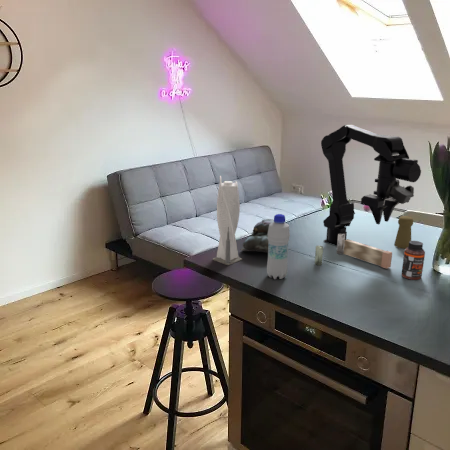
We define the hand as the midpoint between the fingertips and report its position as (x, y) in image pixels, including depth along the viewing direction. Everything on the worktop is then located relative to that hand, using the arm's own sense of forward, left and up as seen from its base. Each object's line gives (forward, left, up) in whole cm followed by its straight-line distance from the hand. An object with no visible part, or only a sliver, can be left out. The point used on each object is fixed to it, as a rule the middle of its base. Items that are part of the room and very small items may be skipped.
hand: (382, 222), depth 167 cm
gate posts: (-11, -12, -13) cm, 21 cm away
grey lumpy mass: (-30, -25, -13) cm, 42 cm away
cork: (-2, +19, -13) cm, 23 cm away
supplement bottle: (+15, -5, -13) cm, 21 cm away
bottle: (-12, -37, -13) cm, 41 cm away
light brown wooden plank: (-1, -5, -12) cm, 14 cm away
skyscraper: (-33, -39, -13) cm, 53 cm away
